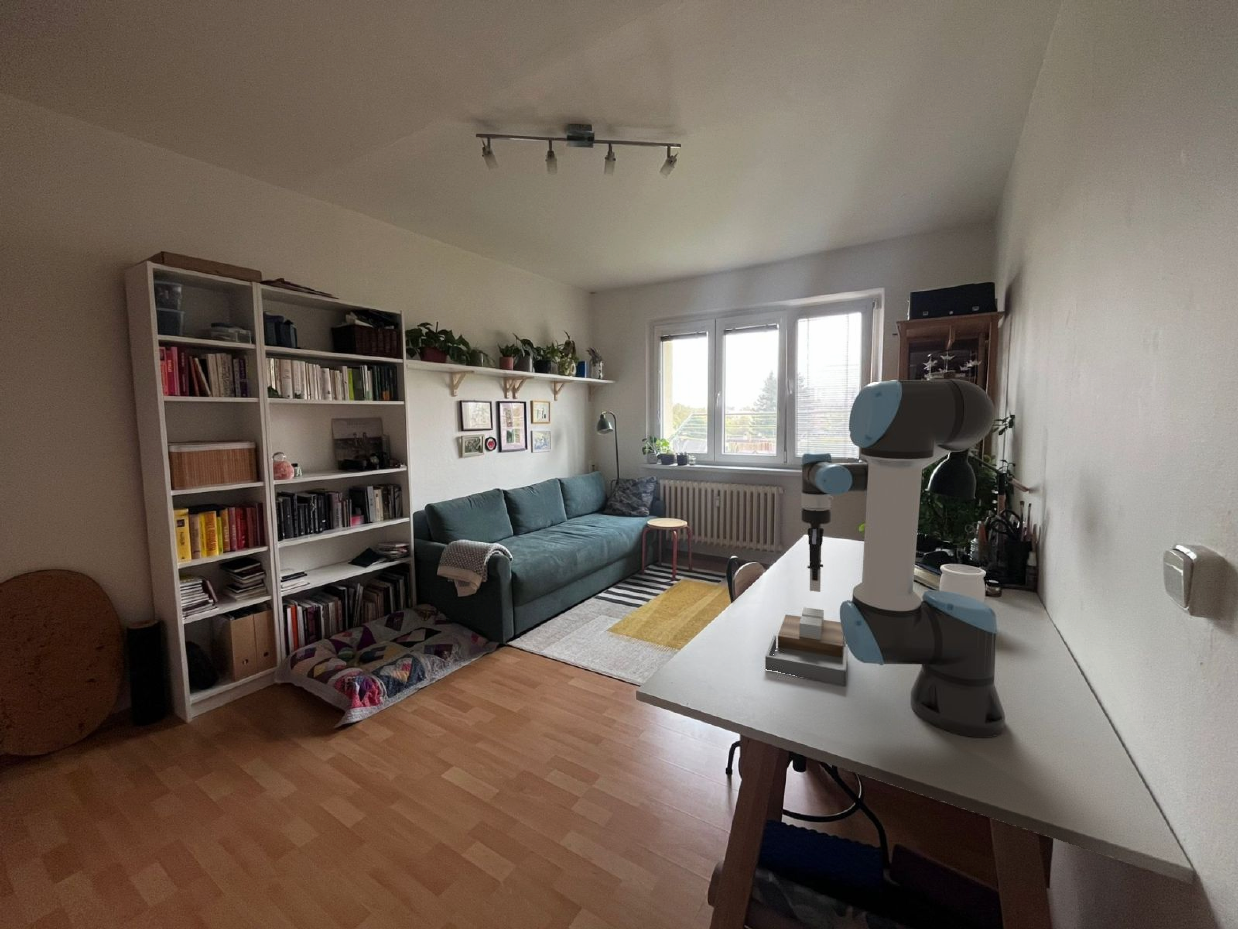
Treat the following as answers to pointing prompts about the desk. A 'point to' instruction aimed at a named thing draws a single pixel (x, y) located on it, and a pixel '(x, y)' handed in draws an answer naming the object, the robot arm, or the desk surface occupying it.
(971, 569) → the jar
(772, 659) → the tray
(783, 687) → the desk surface
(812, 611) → the tile
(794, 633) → the board
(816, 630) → the light grey block
